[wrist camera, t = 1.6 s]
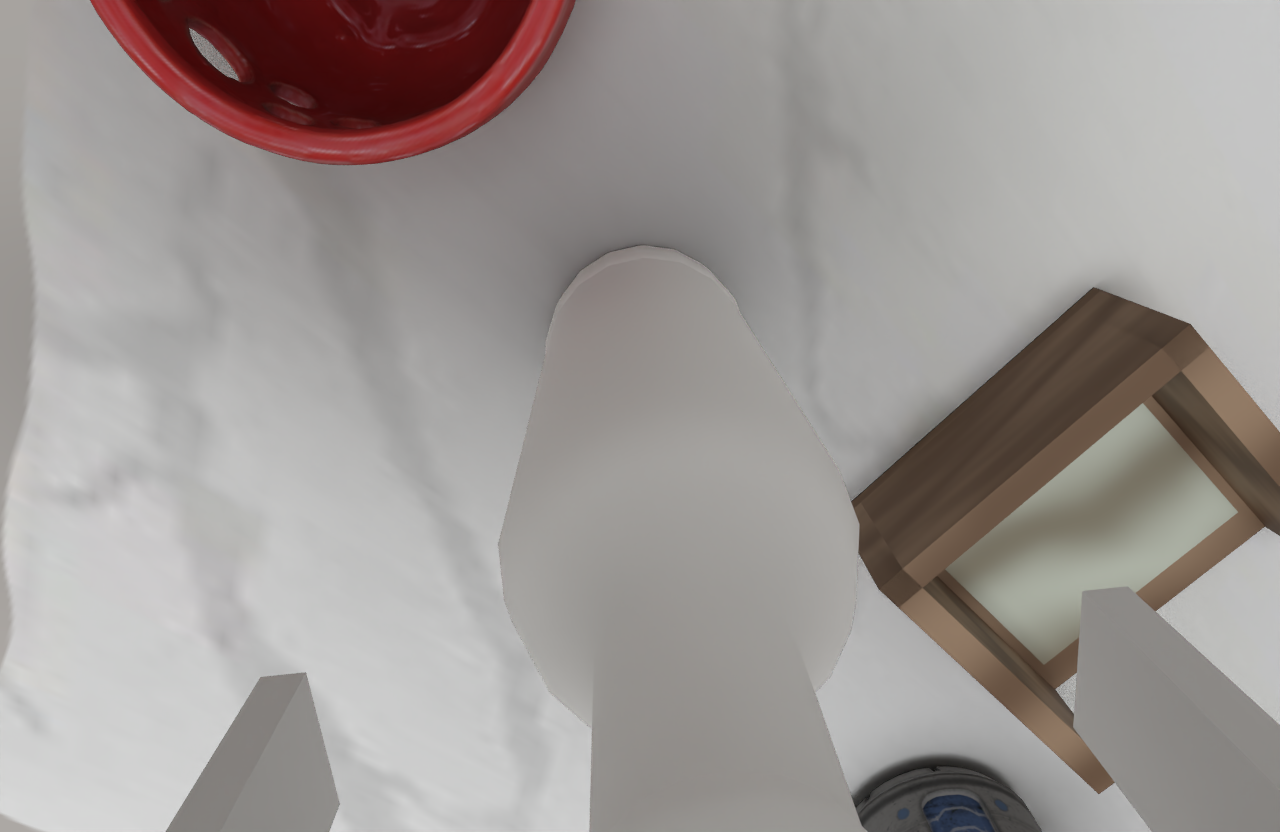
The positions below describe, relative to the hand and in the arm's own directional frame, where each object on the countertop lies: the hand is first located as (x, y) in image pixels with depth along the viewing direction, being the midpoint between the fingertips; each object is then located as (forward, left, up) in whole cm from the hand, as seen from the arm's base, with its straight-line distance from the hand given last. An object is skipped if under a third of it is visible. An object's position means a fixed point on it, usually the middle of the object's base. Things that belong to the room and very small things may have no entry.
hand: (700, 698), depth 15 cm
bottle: (0, 0, -24) cm, 24 cm away
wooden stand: (+10, +18, -24) cm, 31 cm away
